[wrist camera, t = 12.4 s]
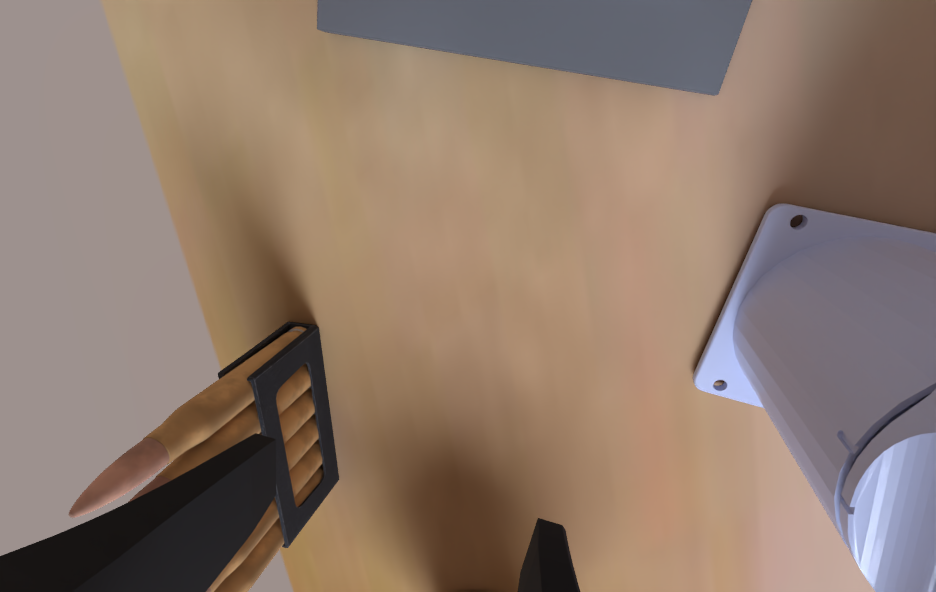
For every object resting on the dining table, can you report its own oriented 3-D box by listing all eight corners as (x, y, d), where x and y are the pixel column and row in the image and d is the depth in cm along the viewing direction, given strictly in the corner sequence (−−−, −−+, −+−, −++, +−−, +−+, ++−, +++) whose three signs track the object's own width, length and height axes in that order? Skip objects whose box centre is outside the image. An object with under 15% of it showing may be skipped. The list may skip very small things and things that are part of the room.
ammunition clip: (288, 320, 24) (35, 485, 13) (318, 324, 23) (83, 498, 13) (313, 474, 28) (135, 698, 17) (339, 480, 27) (174, 713, 17)
